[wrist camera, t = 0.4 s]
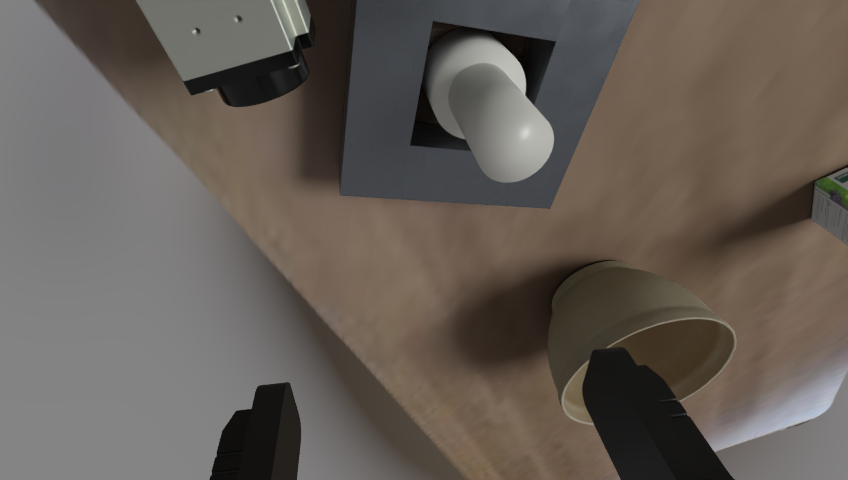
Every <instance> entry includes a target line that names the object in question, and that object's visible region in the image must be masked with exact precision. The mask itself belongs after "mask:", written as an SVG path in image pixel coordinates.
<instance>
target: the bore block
mask: <svg viewBox="0 0 848 480" xmlns="http://www.w3.org/2000/svg"><path fill="white" fill-rule="evenodd" d="M638 3H639V0H352V8H351V20H350V32H349V45H348V57H347V69H346V82H345V94H344V106H343V119H342V131H341V143H340V155H339V185H340V195H343V196H359V197H375V198H390V199H406V200H422V201H437V202H453V203H469V204H484V205H500V206H516V207H531V208H547V209H550V207H551V205H552V203H553V200H554V198H555V196H556V193H557V191H558V189H559V186H560V184H561V182H562V179H563V177H564V175H565V173H566V170H567V168H568V166H569V163H570V161H571V159H572V156H573V154H574V152H575V149H576V147H577V145H578V142H579V140H580V138H581V135H582V133H583V131H584V128H585V126H586V124H587V121H588V119H589V117H590V114H591V112H592V110H593V107H594V105H595V103H596V100H597V98H598V96H599V93H600V91H601V89H602V86H603V84H604V82H605V79H606V77H607V75H608V72H609V70H610V68H611V65H612V63H613V61H614V58H615V56H616V54H617V51H618V49H619V47H620V44H621V42H622V40H623V37H624V35H625V33H626V30H627V28H628V26H629V24H630V21H631V19H632V17H633V14H634V12H635V10H636V7H637V5H638ZM433 21H436V22H442V23H448V24H454V25H460V26H466V27H472V28H478V29H484V30H490V31H496V32H502V33H508V34H514V35H521V36H527V37H528V41H527V44H526V47H525V50H524V54H523V57H522V60H521V63H520V65H521V66H522V69H523V71H524V74H525V79H526V92H525V96H526V97H527V98H528V99H529V100H530V102H531V103H532V104H533V105H534V106H535V107H536V108H537V110H538V111H539V112H540V113H541V114H542V115H543V116H544V117H545V119H546V120H547V121H548V122H549V124H550V125H551V127H552V130H553V134H554V144H553V149H552V152H551V154H550V156H549V158H548V160H547V161H546V162H545V164H544V165H543V166H542V167H541V168H540V169H539V170H538V171H537V172H536V173H534V174H533V175H531V176H529V177H528V178H526V179H523V180H520V181H517V182H510V183H504V182H498V181H495V180H493V179H491V178H489V177H488V176H487V175H485V174H484V172H483V171H482V170H481V168H480V166H479V164H478V162H477V160H476V159H475V157H474V155H473V153H472V151H471V149H470V147H469V145H468V143H467V141H466V139H462V138H458V137H456V136H454V135H452V134H450V133H449V132H447V131H446V130H445V129H444V128H443V127H442V126H441V125H440V124H438V123H429V122H420V121H415V115H416V110H417V104H418V99H419V94H420V88H421V83H422V77H423V72H424V66H425V61H426V55H427V50H428V45H429V39H430V34H431V28H432V23H433Z"/></svg>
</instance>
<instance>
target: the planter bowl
mask: <svg viewBox="0 0 848 480" xmlns="http://www.w3.org/2000/svg"><path fill="white" fill-rule="evenodd" d="M552 311H553V314H552V318H551V321H550V326H549V333H548V359H549V365H550V369H551V373H552V377H553V380H554V383H555V386H556V388H557V391H558V397H559V401H560V404H561V407H562V409H563V411H564V413H565V414H566V415H567V416H568V417H569V418H571V419H572V420H574V421H576V422H579V423H583V424H588V425H594V423H593V421H592V419H591V417H590V415H589V413H588V411H587V409H586V406H585V403H584V400H583V394H582V385H583V381H584V378H585V374H586V371H587V367H588V364H589V360H590V357H591V353H592V351H593V350H595V349H604V348H613V347H624V348H625V349H626V350H627V351H628V352H629V354H630V355H631V357H632V358H633V360H634V361H635V363H636V364H637V366H639V365H647V366H648V367H649V368H650V369H652V370H653V371H654V372H655V373H657V374H658V375H659V376H660V377H661V378H663V379H664V380H665V382H666V383H667V385H668V386H669V387H670V389H671V390H672V392H673V393H674V395H675V396H676V399H677V401H679V402H681V401H683V400H685V399H687V398H688V397H690V396H692V395H693V394H695V393H696V392H698V391H699V390H701V389H702V388H703V387H705V386H706V385H707V384H709V383H710V382H711V381H712V380H713V379H714V378H715V377H716V376H717V375H719V374H720V373H721V371H722V370H723V369H724V368H725V366H726V365H727V364H728V362H729V361H730V359H731V357H732V355H733V353H734V351H735V347H736V335H735V332H734V331H733V329H732V328H731V327H730V326H729V325H728V323H726V322H725V321H724V320H723V319H722V318H720V317H719V316H717V315H716V314H714V313H713V312H712V310H711V309H710V308H709V307H707V306H706V305H705V304H704V303H703V302H702V301H701V300H700V299H699V298H697V297H696V296H695V295H693V294H692V293H691V292H689V291H688V290H686V289H685V288H683V287H681V286H680V285H678V284H676V283H674V282H672V281H670V280H668V279H666V278H663V277H661V276H659V275H656V274H653V273H650V272H646V271H642V270H637V269H634V268H633V267H632V266H630V265H629V264H627V263H624V262H620V261H603V262H599V263H595V264H592V265H589V266H587V267H585V268H583V269H581V270H579V271H577V272H575V273H574V274H572V275H571V276H570V277H568V278H567V279H566V280H565V281H564V282H563V283H562V284H561V285H560V286H559V288H558V289H557V291H556V292H555V294H554V296H553V299H552Z"/></svg>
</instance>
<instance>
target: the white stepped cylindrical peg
mask: <svg viewBox="0 0 848 480" xmlns="http://www.w3.org/2000/svg"><path fill="white" fill-rule="evenodd" d="M422 85H423V89H424V91H425V94H426V96H427V98H428V100H429V103H430V105H431V107H432V109H433V112H434V114H435V116H436V118H437V120H438V122H439V123H440V125H441V126H442V127H443V128H444V129H445V130H446V131H447V132H449V133H450V134H452V135H454V136H456V137H458V138H462V139H466V141H467V143H468V145H469V147H470V149H471V151H472V153H473V155H474V157H475V159H476V160H477V162H478V164H479V166H480V168H481V170H482V171H483V172H484V174H485V175H487V176H488V177H489V178H491V179H493V180H495V181H498V182H504V183H510V182H517V181H520V180H523V179H526V178H528V177H529V176H531V175H533V174H534V173H536V172H537V171H538V170H539V169H540V168H541V167H542V166H543V165H544V164H545V162H546V161H547V160H548V158H549V156H550V154H551V152H552V149H553V144H554V134H553V130H552V127H551V125H550V124H549V122H548V121H547V120H546V119H545V117H544V116H543V115H542V114H541V113H540V112H539V111H538V110H537V108H536V107H535V106H534V105H533V104H532V103H531V102H530V100H529V99H528V98H527V97H526V96H525V92H526V79H525V74H524V71H523V69H522V66H521V65H520V63H519V61H518V60H517V59H516V58H515V57H514V56H513V55H512V54H511V53H510V52H509V51H508V50H507V49H506V48H505V47H504V46H503V45H502V44H501V43H500V42H499V41H498V40H497V39H496V38H495V37H494V36H493V35H492V34H490V33H489V32H487V31H485V30H482V29H478V28H472V27H463V28H458V29H455V30H452V31H450V32H448V33H446V34H445V35H443V36H442V37H440V38H439V39H438V40H437V41H436V42H435V43H434V44H433V45H432V47H431V48H430V50H429V51H428V53H427V55H426V61H425V66H424V72H423V77H422Z"/></svg>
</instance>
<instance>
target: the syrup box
mask: <svg viewBox="0 0 848 480" xmlns="http://www.w3.org/2000/svg"><path fill="white" fill-rule="evenodd" d="M811 219H812V220H813V221H815V222H816V223H817V224H819V225H820V226H821V227H823V228H824V229H826V230H827V231H828V232H830V233H831V234H833V235H834V236H835V237H837V238H838V239H839V240H841V241H842V242H843V243H845V244H846V245H848V167H847V168H845V169H843V170H840V171H838V172H836V173H834V174H832V175H830V176H827V177H825V178H822V179H820V180H817V181H816V182H815V188H814V196H813V205H812V217H811Z"/></svg>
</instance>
